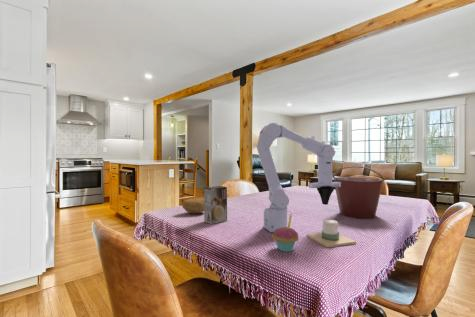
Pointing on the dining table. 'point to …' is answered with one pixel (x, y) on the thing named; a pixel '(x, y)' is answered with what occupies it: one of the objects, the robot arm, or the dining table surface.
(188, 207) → the potato
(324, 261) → the dining table surface
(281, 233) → the cupcake
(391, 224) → the dining table surface
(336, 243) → the beige square tray
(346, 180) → the bucket
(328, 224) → the cap
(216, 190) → the coffee box
